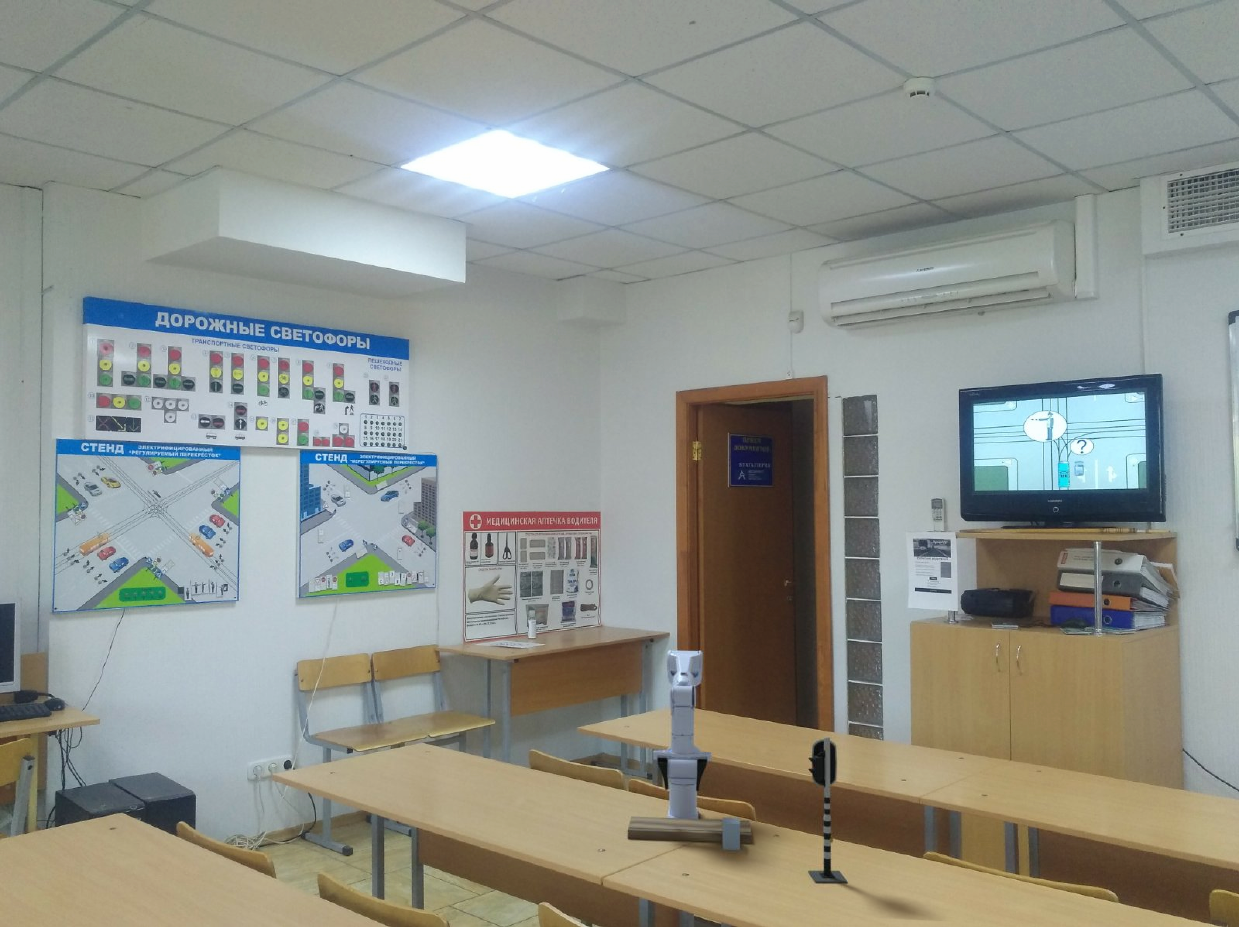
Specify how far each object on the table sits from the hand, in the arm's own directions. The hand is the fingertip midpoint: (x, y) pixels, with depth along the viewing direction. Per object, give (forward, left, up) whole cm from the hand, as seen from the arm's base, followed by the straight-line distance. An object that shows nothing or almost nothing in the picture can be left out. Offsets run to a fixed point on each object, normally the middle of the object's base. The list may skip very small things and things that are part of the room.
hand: (682, 789), depth 251 cm
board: (+1, +2, -10) cm, 11 cm away
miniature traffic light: (+29, +32, -11) cm, 45 cm away
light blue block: (+8, +12, -10) cm, 18 cm away
